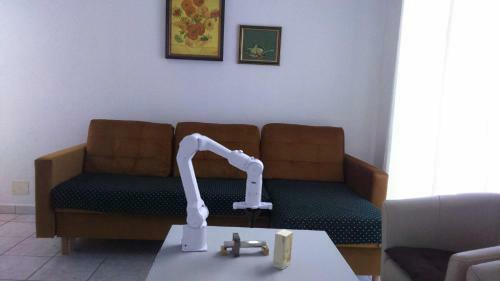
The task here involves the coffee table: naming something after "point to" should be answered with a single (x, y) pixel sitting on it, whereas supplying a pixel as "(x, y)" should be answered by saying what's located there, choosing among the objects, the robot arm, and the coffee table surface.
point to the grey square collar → (236, 245)
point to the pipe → (245, 246)
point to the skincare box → (282, 249)
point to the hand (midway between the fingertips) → (251, 226)
